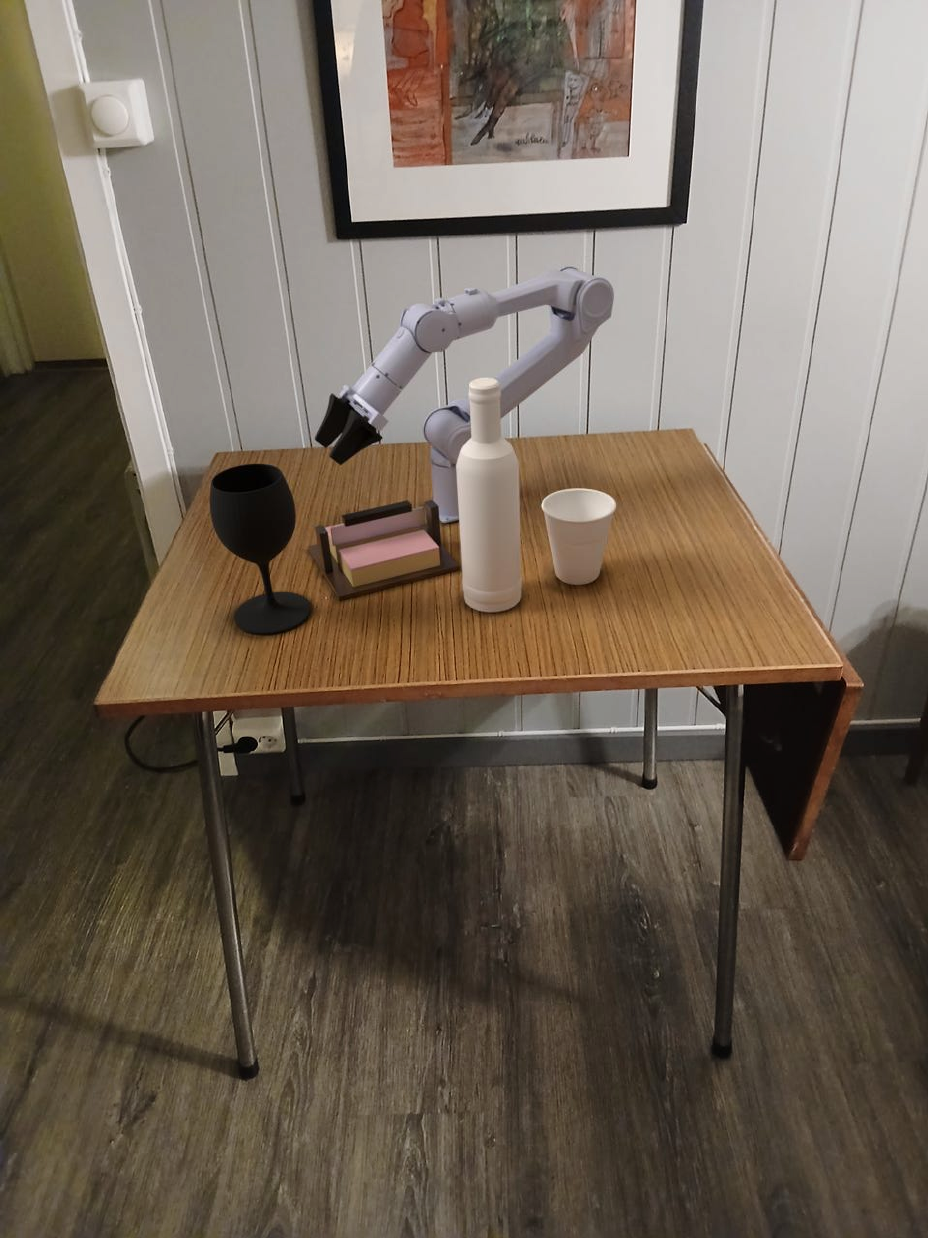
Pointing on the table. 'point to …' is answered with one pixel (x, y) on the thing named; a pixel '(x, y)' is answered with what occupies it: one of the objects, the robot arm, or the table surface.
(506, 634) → the table surface
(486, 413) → the bottle
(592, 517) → the cup
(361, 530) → the knife
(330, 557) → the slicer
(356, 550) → the pink sponge pad
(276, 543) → the wine glass
